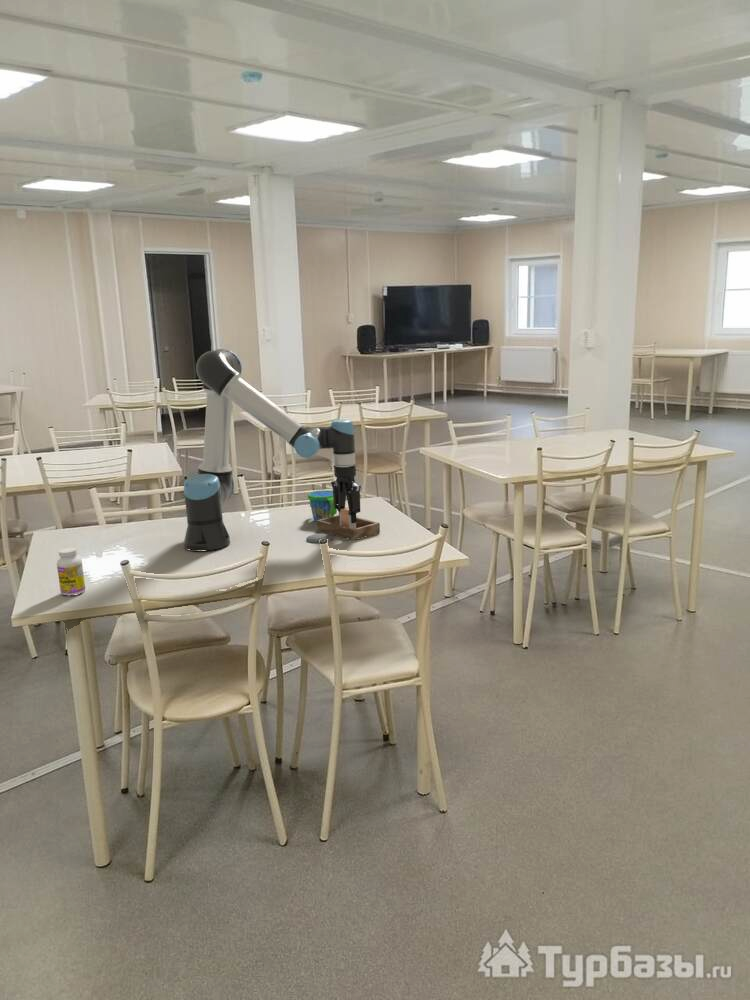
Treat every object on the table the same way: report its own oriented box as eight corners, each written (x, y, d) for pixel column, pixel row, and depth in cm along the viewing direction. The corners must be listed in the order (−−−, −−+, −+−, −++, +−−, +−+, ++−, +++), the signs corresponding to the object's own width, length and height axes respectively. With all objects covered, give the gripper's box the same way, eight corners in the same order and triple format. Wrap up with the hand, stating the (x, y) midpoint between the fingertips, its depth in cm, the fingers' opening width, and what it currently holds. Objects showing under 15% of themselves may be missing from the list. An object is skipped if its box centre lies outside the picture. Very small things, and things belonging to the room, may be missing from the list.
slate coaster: (317, 544, 255) (317, 542, 255) (301, 539, 261) (301, 537, 261) (338, 538, 261) (338, 537, 260) (322, 533, 267) (322, 532, 267)
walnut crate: (353, 540, 258) (352, 530, 257) (317, 529, 272) (316, 520, 272) (379, 532, 265) (379, 522, 265) (343, 522, 280) (342, 513, 279)
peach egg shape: (347, 533, 266) (345, 511, 264) (338, 531, 269) (337, 509, 267) (357, 531, 269) (356, 508, 267) (348, 528, 272) (347, 506, 270)
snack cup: (345, 522, 281) (344, 495, 279) (319, 526, 276) (317, 499, 274) (328, 513, 295) (326, 487, 292) (302, 517, 290) (300, 491, 287)
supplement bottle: (56, 597, 216) (49, 553, 213) (69, 588, 223) (62, 546, 220) (78, 597, 215) (72, 553, 212) (90, 589, 222) (84, 546, 219)
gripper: (369, 466, 260) (372, 532, 265) (337, 460, 272) (341, 524, 278) (352, 469, 255) (355, 537, 260) (320, 463, 267) (324, 528, 273)
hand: (348, 530), depth 269 cm, fingers closed on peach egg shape, 4 cm apart
